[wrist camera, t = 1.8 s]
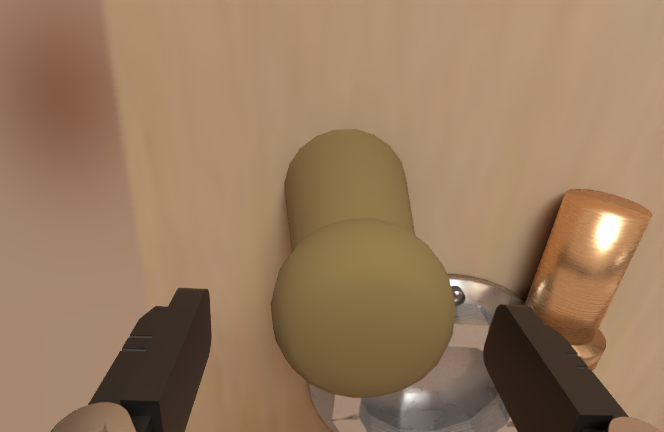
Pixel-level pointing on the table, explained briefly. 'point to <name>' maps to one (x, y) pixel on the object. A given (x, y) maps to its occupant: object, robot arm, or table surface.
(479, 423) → the flange seat
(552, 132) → the table surface
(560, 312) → the pipe stub
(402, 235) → the cork
